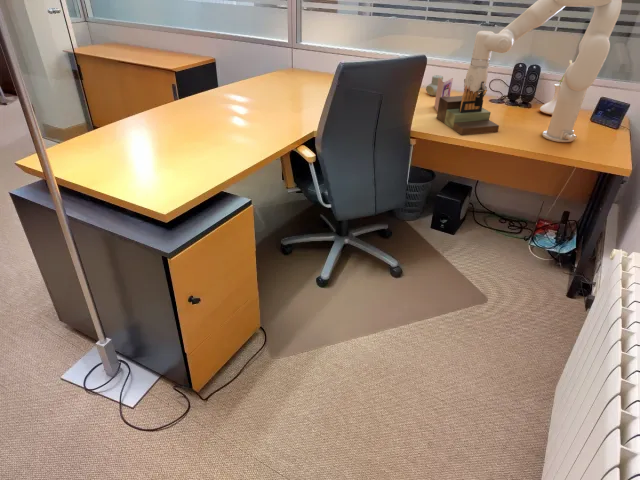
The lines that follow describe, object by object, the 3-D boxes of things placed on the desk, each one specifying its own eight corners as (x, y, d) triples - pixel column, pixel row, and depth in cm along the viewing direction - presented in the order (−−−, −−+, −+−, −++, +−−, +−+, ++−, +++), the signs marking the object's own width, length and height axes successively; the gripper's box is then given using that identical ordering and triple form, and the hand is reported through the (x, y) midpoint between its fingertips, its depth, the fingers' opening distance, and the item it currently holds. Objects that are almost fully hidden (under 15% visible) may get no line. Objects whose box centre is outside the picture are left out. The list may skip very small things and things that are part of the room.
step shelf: (497, 132, 193) (503, 109, 187) (461, 135, 189) (466, 112, 184) (469, 115, 212) (473, 94, 207) (436, 117, 208) (439, 97, 203)
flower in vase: (556, 118, 209) (574, 64, 195) (534, 112, 217) (549, 60, 203) (569, 113, 216) (586, 60, 202) (547, 107, 223) (562, 56, 209)
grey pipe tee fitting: (423, 93, 244) (425, 74, 239) (434, 91, 247) (437, 73, 242) (435, 98, 236) (438, 79, 231) (447, 96, 239) (450, 78, 234)
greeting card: (440, 113, 214) (445, 82, 205) (426, 110, 218) (430, 80, 209) (449, 108, 221) (454, 78, 213) (436, 105, 225) (440, 75, 217)
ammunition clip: (460, 113, 194) (465, 85, 188) (458, 111, 196) (463, 84, 189) (481, 111, 197) (487, 84, 190) (479, 110, 198) (485, 83, 191)
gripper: (461, 59, 191) (454, 98, 200) (483, 67, 177) (474, 109, 186) (476, 58, 192) (469, 97, 202) (499, 66, 178) (489, 108, 188)
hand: (471, 102), depth 194 cm, fingers open, 9 cm apart
